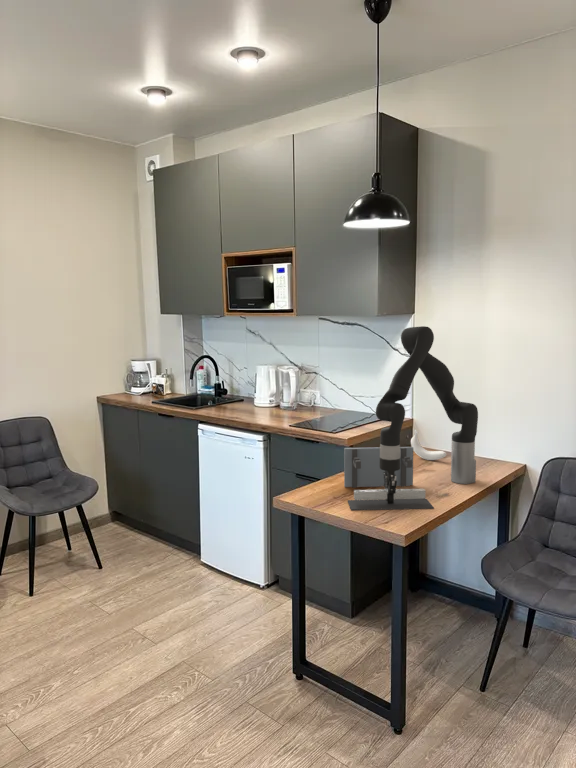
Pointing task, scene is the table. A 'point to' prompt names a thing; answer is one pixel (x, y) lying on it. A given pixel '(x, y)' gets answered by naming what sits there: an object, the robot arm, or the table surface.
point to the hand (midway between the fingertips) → (389, 501)
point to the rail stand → (374, 467)
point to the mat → (383, 504)
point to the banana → (425, 453)
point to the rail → (383, 494)
